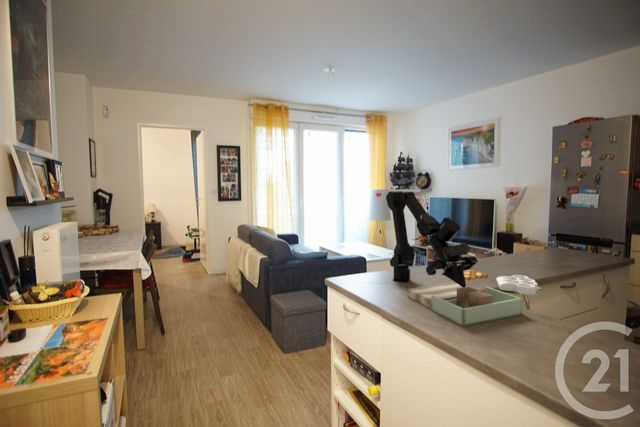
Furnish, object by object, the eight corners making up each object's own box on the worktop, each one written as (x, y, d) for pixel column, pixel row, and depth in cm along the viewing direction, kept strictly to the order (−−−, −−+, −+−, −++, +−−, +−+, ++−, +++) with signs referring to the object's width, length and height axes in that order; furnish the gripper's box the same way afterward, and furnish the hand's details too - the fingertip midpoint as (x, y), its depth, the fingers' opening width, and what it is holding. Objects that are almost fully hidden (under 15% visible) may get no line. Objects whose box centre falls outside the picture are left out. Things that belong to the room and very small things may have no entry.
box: (431, 310, 109) (431, 295, 109) (485, 300, 118) (486, 286, 117) (463, 326, 96) (463, 309, 96) (522, 313, 105) (522, 298, 104)
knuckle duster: (495, 280, 142) (535, 284, 137) (500, 293, 126) (545, 297, 120) (495, 273, 142) (535, 276, 137) (500, 284, 126) (546, 288, 120)
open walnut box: (456, 288, 111) (480, 297, 102) (468, 286, 113) (492, 295, 103) (456, 305, 111) (480, 316, 102) (468, 303, 113) (492, 314, 104)
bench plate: (407, 296, 123) (407, 288, 123) (454, 289, 131) (454, 281, 130) (433, 309, 110) (433, 300, 110) (483, 300, 118) (483, 292, 117)
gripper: (431, 237, 111) (455, 277, 102) (474, 233, 118) (500, 271, 108) (417, 255, 119) (437, 294, 110) (457, 251, 126) (480, 287, 116)
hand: (464, 286), depth 111 cm, fingers closed
